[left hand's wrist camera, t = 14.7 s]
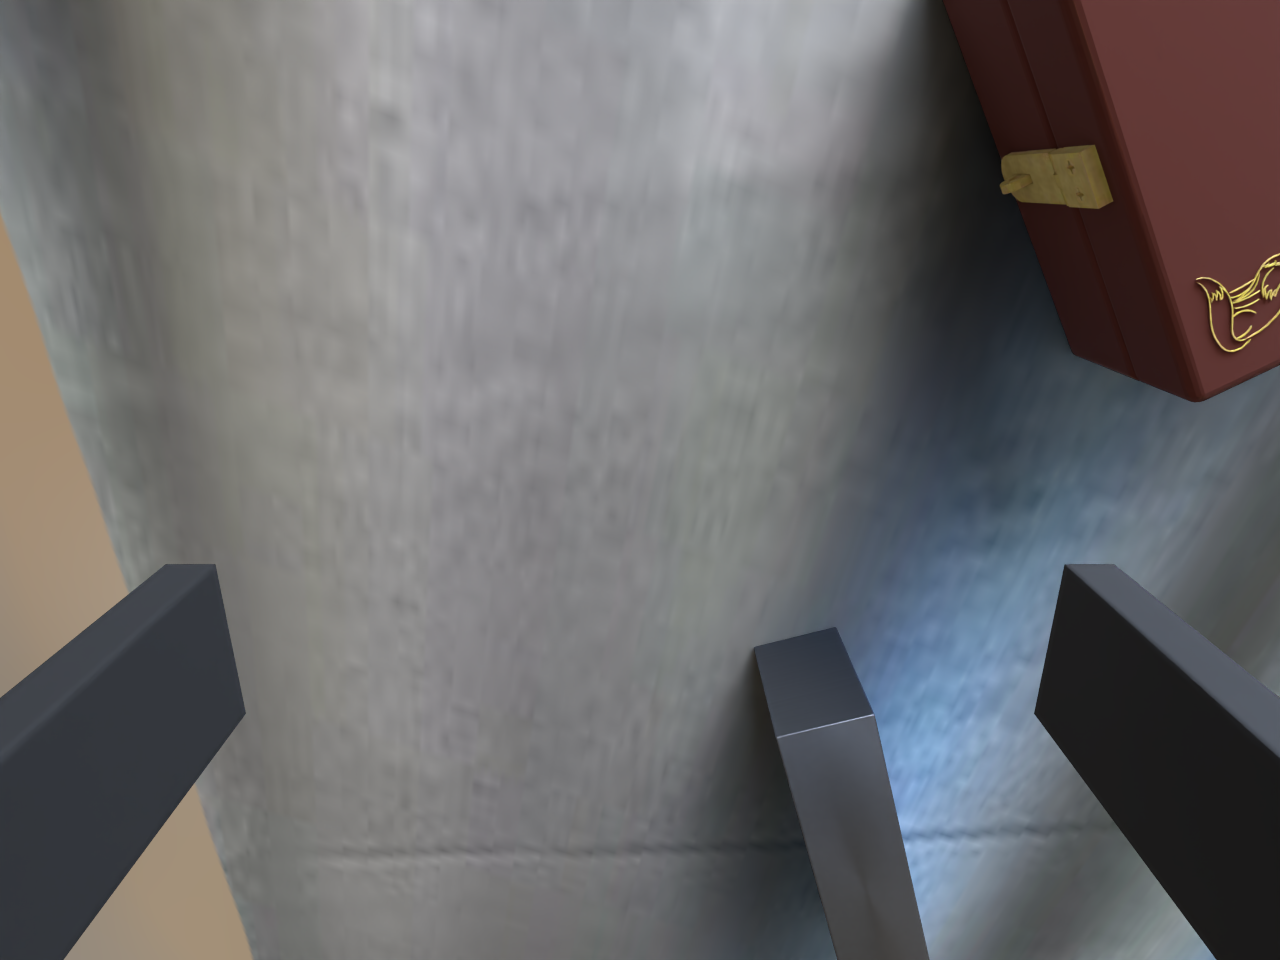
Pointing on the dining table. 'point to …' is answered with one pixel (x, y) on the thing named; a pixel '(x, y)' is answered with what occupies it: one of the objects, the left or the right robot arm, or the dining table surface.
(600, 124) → the dining table surface
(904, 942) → the bar
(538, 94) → the dining table surface
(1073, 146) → the box
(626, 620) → the dining table surface
